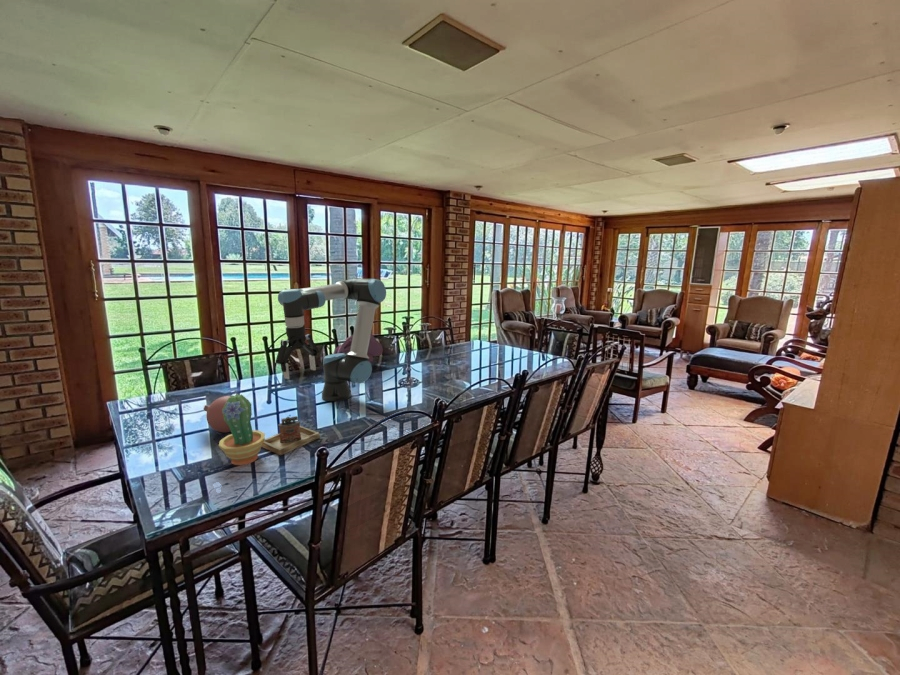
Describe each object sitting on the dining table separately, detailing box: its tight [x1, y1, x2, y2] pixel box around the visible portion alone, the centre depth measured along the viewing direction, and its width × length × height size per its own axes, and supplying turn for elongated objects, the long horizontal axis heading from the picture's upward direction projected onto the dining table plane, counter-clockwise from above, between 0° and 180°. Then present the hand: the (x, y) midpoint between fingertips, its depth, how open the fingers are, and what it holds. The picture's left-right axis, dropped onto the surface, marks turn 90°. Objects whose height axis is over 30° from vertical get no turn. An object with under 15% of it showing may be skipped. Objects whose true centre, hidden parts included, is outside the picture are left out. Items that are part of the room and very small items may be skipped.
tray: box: [261, 425, 320, 456], centre depth 161 cm, size 18×13×2 cm
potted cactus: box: [218, 393, 266, 466], centre depth 145 cm, size 15×15×25 cm
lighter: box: [278, 415, 301, 443], centre depth 160 cm, size 8×3×10 cm, turn 112°
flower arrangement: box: [333, 334, 384, 364], centre depth 257 cm, size 35×24×28 cm
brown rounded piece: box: [203, 395, 231, 433], centre depth 171 cm, size 15×20×15 cm
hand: (300, 374), depth 173 cm, fingers open, 13 cm apart
